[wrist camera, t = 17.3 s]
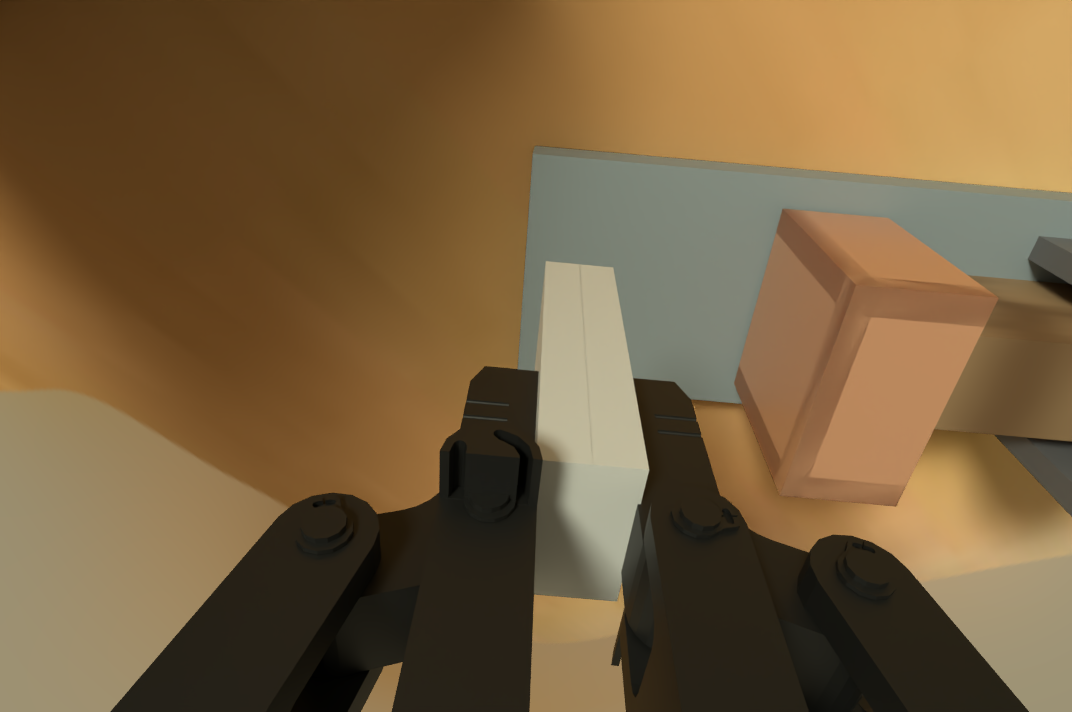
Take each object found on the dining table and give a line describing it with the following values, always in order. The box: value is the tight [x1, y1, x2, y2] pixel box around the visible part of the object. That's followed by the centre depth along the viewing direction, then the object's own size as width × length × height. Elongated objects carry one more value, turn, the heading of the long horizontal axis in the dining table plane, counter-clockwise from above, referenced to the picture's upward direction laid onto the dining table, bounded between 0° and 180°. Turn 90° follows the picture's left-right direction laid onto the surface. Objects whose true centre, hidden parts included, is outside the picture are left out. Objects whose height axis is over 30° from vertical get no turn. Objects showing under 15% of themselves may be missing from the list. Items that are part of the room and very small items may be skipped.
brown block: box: [934, 275, 1072, 441], centre depth 25 cm, size 12×4×6 cm, turn 86°
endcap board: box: [518, 146, 1072, 516], centre depth 24 cm, size 25×11×11 cm, turn 86°
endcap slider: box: [734, 209, 999, 506], centre depth 24 cm, size 4×8×8 cm, turn 176°
